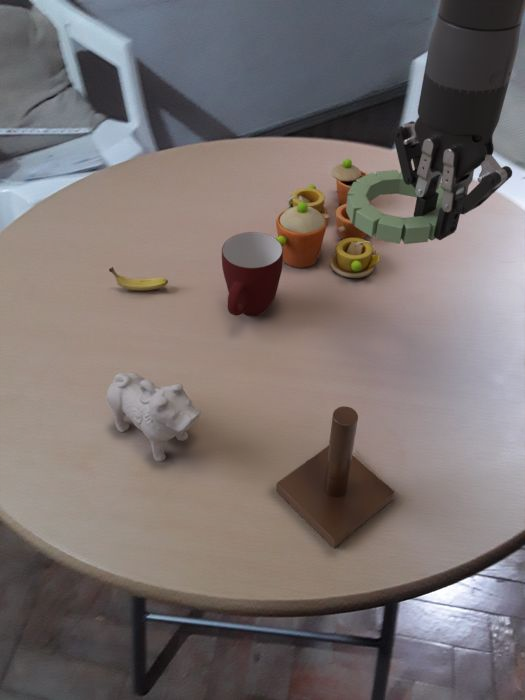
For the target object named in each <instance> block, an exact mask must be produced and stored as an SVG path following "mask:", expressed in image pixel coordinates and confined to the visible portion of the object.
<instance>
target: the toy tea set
mask: <svg viewBox="0 0 525 700" xmlns="http://www.w3.org/2000/svg"><path fill="white" fill-rule="evenodd" d="M330 174H331V176H332V177H333V178H334V179H335V180H336V190H337V191H336V194H337V201H338V204H340V205H339V206H338V207H337V208H336V210H335V216H336V226H337V227H336V228H337V229H336V230H337V235H338V236H339V237H340V238H341V239H342V240H340V241H338V242H337V243H336V245H335V253H333V254H332V256H331V257H330V260H329V265H330V268H331V269H332V270H333V272H335V273H336V274H338V275H340V276H342V277H345V278H350V279H356V278H364V277H366V276H368V275H370V274H371V273H373V271H374V269H375V264H377V263H378V262H379V260H380V253H379V252H377V248H375V247H374V246H373V244H372V242H371V241H368V240H366V239H365V238H366V237H367V234H366V233H364V232H363V231H361V230H360V229H358V228H356V227H355V224H352V223H351V220H350V218H349V216H348V214H347V212H346V205H347V195H348V192H349V190H350V188H351V186H352V184H353V182H356V180H357V179H359V178H361V177H363V176H366V175H368V174H369V173H368V172H365V171H362V170H360V168H359V167H357V166H356V165H354V164H353V162H352V160H351V159H350V158H345V159H343V161H342V163H339V164H337V165H335V166H334V167H332V169H331V171H330ZM325 198H326V197H325V194H324V193H323V192H322V191H321V190H320V189H317V186H316V185H314V184H309V185H308V186H307V187H301V188H298V189H296V190H295V191H293V192H292V194H291V196H290V198H289V200H288V206H287V207H286V209H285V210H283V211H282V212H280V213H279V214H278V216H277V218H276V220H275V225H276V232H277V237H276V239H277V240H278V241H279V242H280V244H281V245H282V249H283V263H285V264H286V265H288V266H291V267H293V268H308V267H310V266H312V265H314V264H316V262H317V261H318V260H319V257H320V253H321V250H322V245H323V242H324V237H325V233H326V229H327V226H328V222H327V220H329V219H330V215H329V214H327V213H328V211H327V208H326V206H325V205H324V203H325Z"/></svg>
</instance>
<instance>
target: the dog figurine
mask: <svg viewBox="0 0 525 700" xmlns="http://www.w3.org/2000/svg"><path fill="white" fill-rule="evenodd" d="M105 395H106V400H107V404H108V405H109V407H110V408H111V412H112V413H113V418H114V423H115V428H116V430H117V431H118V432H121V433H124V432H125V431H127V430H129V428H130V425H129V423H127V422H126V421H125V420H124V419H125V418H124V417H125V416H126V417H127V418H128V419H129V420H130V421H131V422H133V425H134V427H136V428H137V429H138V430H140V431H142V433H143V435H144V436H145V438H146V439H148V440H149V442H150V445H151V451H152V456H153V459H154V460H155V461H156V462H163V461H165V460H166V457H167V456H166V454H165V452H164V451H165V446H166V442H167V441H169V440H171V439H173V438H176V439H177V440H178V441H181V442H185V441H186V440H187V439H188V438H189V435H188V433H187V430H188V429H190V428H191V427H192V426H193V425H194V424H195V423H196V421H197V420H198V419H199V418H200V416H201V414H202V411H201V410H199V409H197V408H196V407H195V406H194V405H193V401H192V400H191V399H190V398H189V396H188V395H187V393H186V391H185V390H184V386H183V384H182V383H175V384H170V385H164V386H162V387H158V386H157V385H155V384H154V382H152V381H151V380H150V379H145V377H143V376H141V375H140V374H138V373H135V372H128V373H123V372H118V373H117V374H115V375H114V378H113V381H112V383H111V384H109V386H108V388H107V391H106V394H105Z"/></svg>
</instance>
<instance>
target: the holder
mask: <svg viewBox="0 0 525 700" xmlns="http://www.w3.org/2000/svg"><path fill="white" fill-rule="evenodd" d="M358 421H359V415H358V412H357V411H356V410H355V409H354V408H352V407H350V406H346V405H344V406H339V407H337V408H336V409H334V411H333V413H332V418H331V427H330V434H329V443H328V446H326V447H325V448H323V449H322V450H320V451H319V452H318V453H316V454H315V455H313V456H312V457H311V458H310V459H308V460H307V461H305V462H304V463H302V464H301V465H299V467H297V468H296V469H294V470H292V471H291V472H290V473H289V474H288V475H285V477H283V478H282V479H280V480H279V481H277V482H276V483H275V484H276V485H275V492H277V494H278V495H280V497H281V498H282V499H284V500H285V502H287V504H289V505H290V506H291V507H292V508H293V509H294V510H295V511H296V512H297V514H298V515H300V516H301V517H302V518H303V519H304V521H306V523H308V524H309V525H310V527H312V528H313V529H314V530H315V531H316V532H317V533H318V534H319V535H320V536H321V537H322V538H323V539H324V541H326V542H327V543H328V544H329V545H330V546H331V547H332V548H334V549H335V548H336V547H337V546H338V545H339V544H341V543H342V542H343V541H344V540H346V539H347V538H348V537H349V536H351V535H352V534H353V533H354V532H355V531H356V530H358V529H359V528H360V527H362V526H363V525H364V524H366V522H368V521H369V520H370V519H371V518H372V517H374V516H375V515H376V514H377V513H379V512H380V511H381V510H382V509H384V508H385V507H386V506H387V505H388V504H389V503H391V502H392V501H393V500H394V498H395V494H396V492H395V490H393V489H392V488H391V487H390V486H389V485H388V484H386V482H384V481H383V480H382V479H381V478H379V476H377V475H376V474H375V473H374V472H373V471H371V470H370V469H369V468H368V467H367V466H366V465H365V464H363V462H361V461H360V460H359V459H358V458H357V457H355V456H354V455H353V451H354V447H355V441H356V433H357V426H358Z"/></svg>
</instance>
